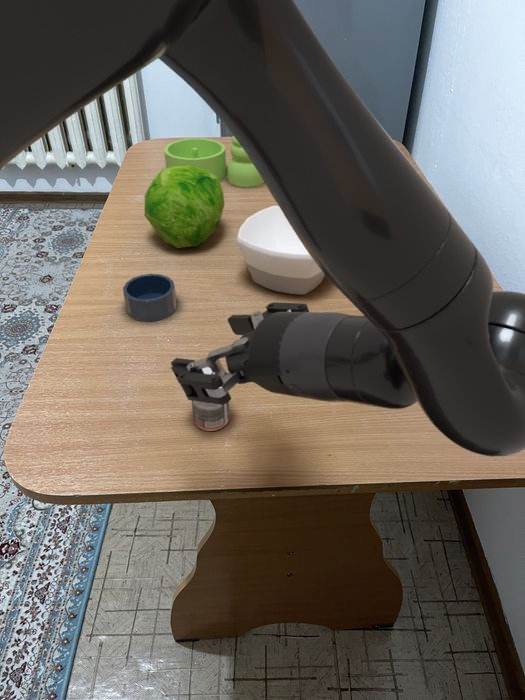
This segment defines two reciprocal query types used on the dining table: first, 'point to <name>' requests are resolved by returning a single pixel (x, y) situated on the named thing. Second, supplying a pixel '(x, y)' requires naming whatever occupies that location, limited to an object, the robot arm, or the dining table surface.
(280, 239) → the bowl
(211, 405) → the pill bottle
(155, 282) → the bottle holder
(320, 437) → the dining table surface
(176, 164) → the food container
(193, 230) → the lettuce
